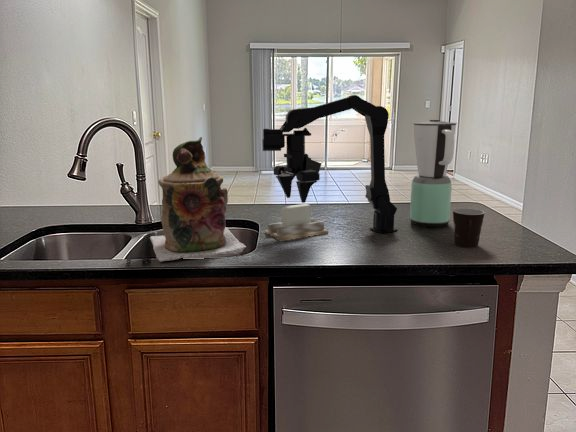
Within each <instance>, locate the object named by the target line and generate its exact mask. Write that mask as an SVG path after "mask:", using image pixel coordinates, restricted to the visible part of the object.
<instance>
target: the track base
mask: <svg viewBox="0 0 576 432" xmlns="http://www.w3.org/2000/svg"><path fill="white" fill-rule="evenodd" d="M315 220H316V218H315V217H311V223H306V224H299V225H293V226H286V227H282V221H281V222H274V223H268V224H267V229H264V234H265V233H267V234H266V235H268V234H270V235H271V236H270V235H269V236H270V237H272V236H273V237H272V238H274V237H275V238H274V239H276V238H278V239H279V240H278V239H277V240H278V241H280V240H282V241H281V242H285V241H284V240H287V241H290V240H289V239H293V240H297V239H296V238H298V239H303V238H302V237H304V238H309V237H308V236H310V237H315V236H314V235H316V236H321V235H326V234H327V235H328V234H329V230H327V229H326V228H325V221H324V220H320V221H315Z"/></svg>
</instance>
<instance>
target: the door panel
mask: <svg viewBox="0 0 576 432" xmlns="http://www.w3.org/2000/svg"><path fill="white" fill-rule="evenodd" d="M311 218H312V205H311V204H308V203H302V204H295V205H287V206H286V205H285V206H281V222H282V227H286V226H293V225H299V224H306V223H311Z"/></svg>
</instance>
